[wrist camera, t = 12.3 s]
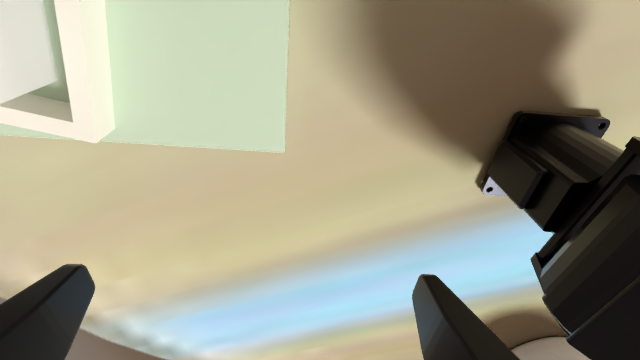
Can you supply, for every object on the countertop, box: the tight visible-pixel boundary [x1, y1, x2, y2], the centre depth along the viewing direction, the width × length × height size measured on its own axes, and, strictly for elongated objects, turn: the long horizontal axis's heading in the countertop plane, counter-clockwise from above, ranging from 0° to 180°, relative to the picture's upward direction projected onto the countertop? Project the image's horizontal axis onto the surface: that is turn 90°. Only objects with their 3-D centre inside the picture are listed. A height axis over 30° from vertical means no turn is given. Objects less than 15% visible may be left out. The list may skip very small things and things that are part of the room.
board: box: [0, 0, 290, 153], centre depth 15 cm, size 20×15×1 cm
